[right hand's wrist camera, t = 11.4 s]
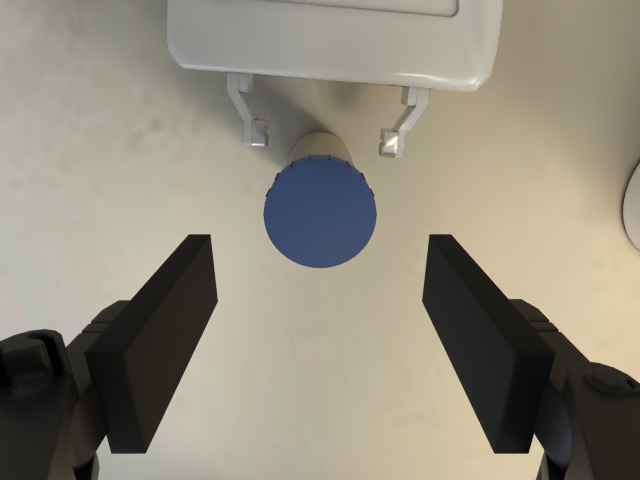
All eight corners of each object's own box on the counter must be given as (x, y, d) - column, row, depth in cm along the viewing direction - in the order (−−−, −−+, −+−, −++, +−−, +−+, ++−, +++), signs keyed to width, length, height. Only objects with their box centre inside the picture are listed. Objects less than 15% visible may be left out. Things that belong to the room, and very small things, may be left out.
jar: (348, 190, 35) (368, 260, 21) (291, 190, 35) (272, 260, 21) (350, 131, 33) (372, 164, 19) (289, 131, 33) (267, 164, 19)
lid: (370, 254, 22) (375, 268, 21) (269, 254, 22) (265, 269, 21) (375, 153, 20) (381, 159, 19) (264, 153, 20) (258, 160, 19)
